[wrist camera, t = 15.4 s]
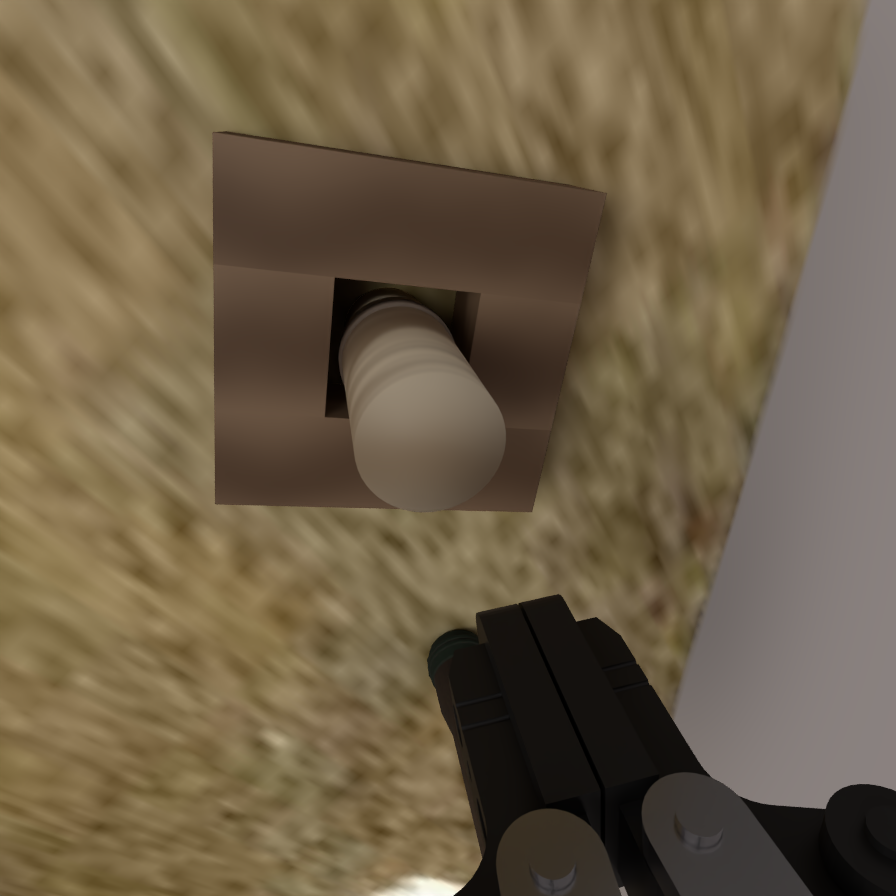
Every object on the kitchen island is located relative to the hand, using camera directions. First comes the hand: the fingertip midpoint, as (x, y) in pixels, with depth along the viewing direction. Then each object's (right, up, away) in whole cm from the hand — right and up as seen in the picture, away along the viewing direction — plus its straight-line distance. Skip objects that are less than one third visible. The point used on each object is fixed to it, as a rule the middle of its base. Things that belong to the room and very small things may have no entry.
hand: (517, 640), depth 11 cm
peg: (-4, +9, +18) cm, 20 cm away
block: (-4, +9, +17) cm, 20 cm away
